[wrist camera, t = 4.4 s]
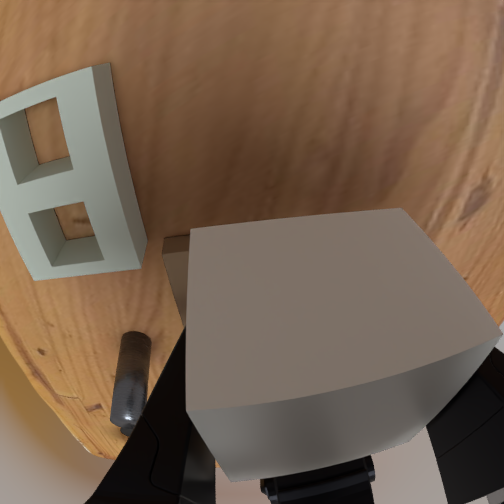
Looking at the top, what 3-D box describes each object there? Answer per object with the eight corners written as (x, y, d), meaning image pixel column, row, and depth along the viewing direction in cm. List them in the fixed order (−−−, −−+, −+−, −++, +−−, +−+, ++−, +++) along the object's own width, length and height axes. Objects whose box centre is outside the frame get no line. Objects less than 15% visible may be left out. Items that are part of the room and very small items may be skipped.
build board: (147, 240, 17) (141, 268, 15) (48, 254, 17) (34, 280, 15) (109, 62, 11) (91, 66, 9) (-3, 104, 11) (-30, 116, 9)
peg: (155, 349, 23) (150, 429, 18) (127, 350, 23) (118, 428, 18) (146, 330, 22) (138, 415, 16) (117, 332, 22) (104, 415, 16)
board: (284, 333, 24) (294, 371, 21) (195, 344, 23) (195, 383, 21) (287, 223, 18) (303, 262, 15) (164, 238, 17) (157, 279, 15)
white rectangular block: (365, 336, 11) (408, 441, 7) (219, 360, 11) (230, 482, 7) (401, 207, 8) (503, 334, 4) (190, 228, 7) (185, 410, 4)
